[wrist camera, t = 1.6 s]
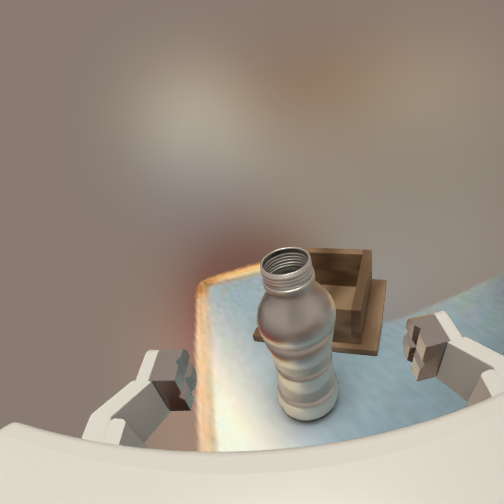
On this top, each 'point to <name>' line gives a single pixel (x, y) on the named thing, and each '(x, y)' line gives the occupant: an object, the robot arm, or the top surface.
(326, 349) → the plastic bottle
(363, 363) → the top surface
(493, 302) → the top surface
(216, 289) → the top surface
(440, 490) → the robot arm
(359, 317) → the bottle caddy
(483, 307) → the top surface
